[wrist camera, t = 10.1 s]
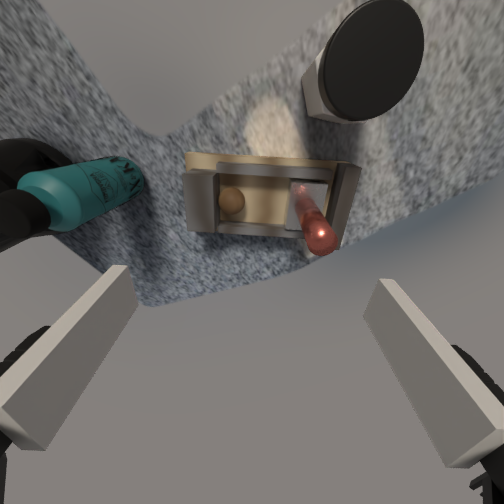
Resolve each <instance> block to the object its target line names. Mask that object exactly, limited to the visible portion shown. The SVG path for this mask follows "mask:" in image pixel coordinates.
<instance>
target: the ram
mask: <svg viewBox="0 0 504 504" xmlns="http://www.w3.org/2000/svg"><path fill="white" fill-rule="evenodd" d="M327 188H328V184H327V183H326V182H325V181H324V180H315V179H299V178H289V186H288V194H287V201H286V209H285V217H284V225H285V229H289V230H302V231H303V234H304V237H305V240H306V242H307V245H308V248H309V250H310V251H311V252H312V253H313V254H315V255H318V256H325V255H328V254H330V253H332V252H333V251H334V250H335V249H336V247H337V245H338V238H337V235H336V234H335V232H334V231H333V229H332V228H331V226H330V225H329V223H328V222H327V220H326V219H325V217H324V216H323V214H322V211H323V207H324V202H325V198H326V193H327Z"/></svg>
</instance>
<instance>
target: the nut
mask: <svg viewBox="0 0 504 504" xmlns="http://www.w3.org/2000/svg"><path fill="white" fill-rule="evenodd" d="M218 203H219V206H220V208H221V210H222V211H223V212H225V213H227V214H230V215H234V214H237V213H239V212H241V211H242V209H243V208H244V206H245V197H244V195H243V193H242V192H241V191H240V190H239V189H237V188H234V187H229V188H226V189H224V190H223V191H222V192H221V193H220V195H219V199H218Z"/></svg>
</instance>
